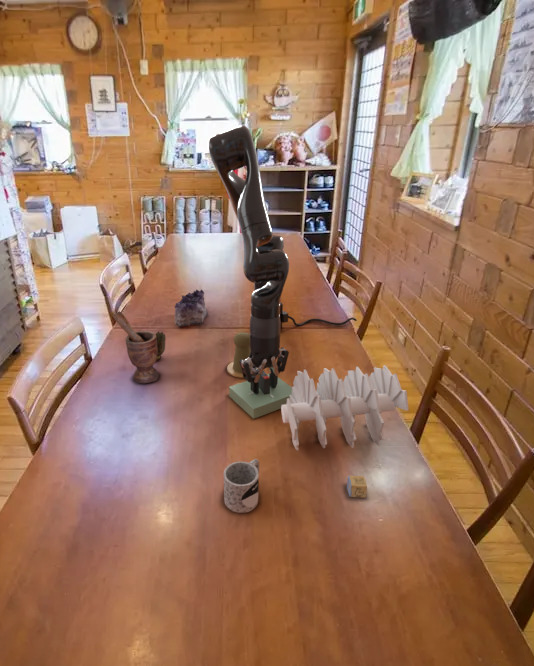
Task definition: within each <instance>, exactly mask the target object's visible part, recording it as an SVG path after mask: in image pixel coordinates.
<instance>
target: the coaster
mask: <svg viewBox="0 0 534 666" xmlns="http://www.w3.org/2000/svg"><path fill="white" fill-rule="evenodd" d="M233 362H234V360H233V361H231V362H229V363H228V365H227V367H226V371H227V373H228V374H229V376H232V377H234V378H239V379H244V378H243V374H242V373H239V372H236V371H234V370H233ZM256 368H257V367H256ZM257 369H258V368H257ZM250 372H251V371H250Z"/></svg>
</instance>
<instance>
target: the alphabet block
mask: <svg viewBox="0 0 534 666" xmlns="http://www.w3.org/2000/svg"><path fill="white" fill-rule="evenodd" d="M346 490H347V493H348V496H349V498H366V496H367V491H368V484H367V482H366V479H365V476H364V475H348V476H347V482H346Z"/></svg>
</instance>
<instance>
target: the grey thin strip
mask: <svg viewBox="0 0 534 666" xmlns="http://www.w3.org/2000/svg"><path fill="white" fill-rule="evenodd" d="M259 478H260V461H259V459H257V458H254V459H252V460H251V461H249V462H247V461H235V462H231V463H230V464H228V465H227V466H225V468H224V470H223V498H224V499H223V501H224V504H225V506H226V508H228V510H230V511H231V512H233V513H239V514H243V513H244V514H245V513H249V512H251V511H253V510H254V509H255V508H256V507H257V506H258V504H259V486H260V485H259V483H260V482H259Z"/></svg>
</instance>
